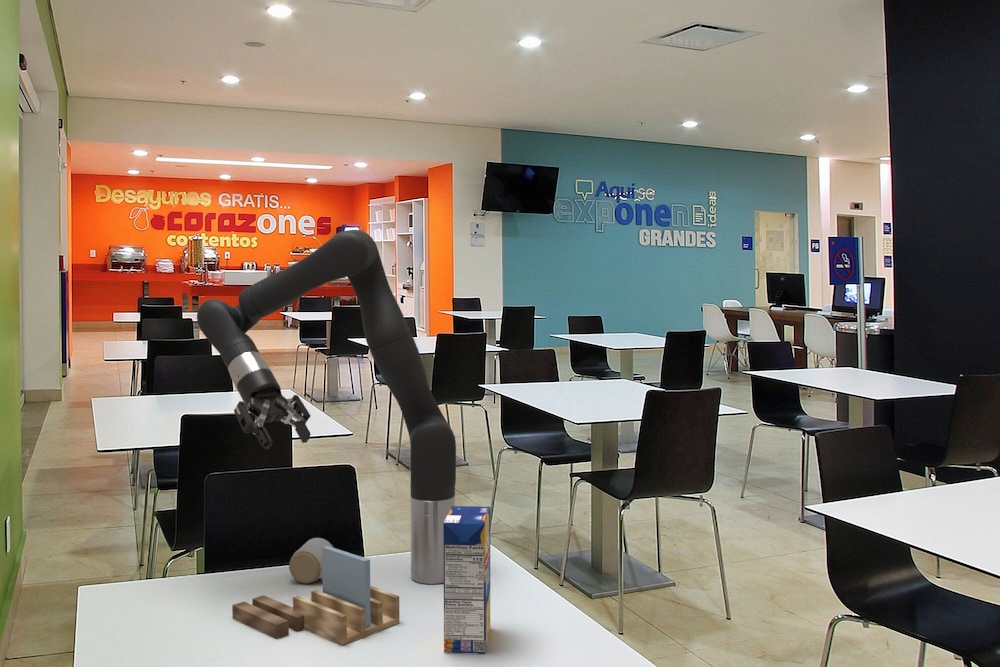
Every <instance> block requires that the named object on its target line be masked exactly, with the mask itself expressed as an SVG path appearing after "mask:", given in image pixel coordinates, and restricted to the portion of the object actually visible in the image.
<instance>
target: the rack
mask: <svg viewBox="0 0 1000 667" xmlns="http://www.w3.org/2000/svg"><path fill="white" fill-rule="evenodd" d="M310 596H311V597H310V598H311V599H307V598H305V597H302V596H299V595H296V596H293V597H292V607H293V611H295V612H297V613H300V614H302V615H304V629H303V630H305V631H308V632H310V633H312V634H315V635H317V636H319V637H321V638H324V639H326V640H329V641H330V642H333V643H335V644H338V645H340V646H342V647H343V646H345V645H348V644H350V643H354V642H356V641H359V640H361V639H363V638H365V637H368V636H370V634H371V635H373V634H375V632H376V633H377V631H378V632H381V631H383V630H385V629H384V628H386V627H388V628H390V627H389V626H391V625H393V626H395V625H394V624H396V625H398V624H400V595H397V594H394V593H392V592H389V591H386V590H384V589H380V588H378V587H375V586H372V585H370V614H371V627H368V628H365V608H362V607H360V606H357V605H354V604H352V603H349V602H346V601H344V600H341V599H339V598H336V597H333V596H331V595H328V594H326V593H323V591H320V590H317V589H314V590H311V591H310ZM397 623H398V624H397ZM391 627H392V626H391ZM382 629H383V630H382ZM386 629H387V628H386ZM380 630H381V631H380ZM372 633H373V634H372Z"/></svg>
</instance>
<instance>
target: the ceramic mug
mask: <svg viewBox="0 0 1000 667" xmlns="http://www.w3.org/2000/svg"><path fill="white" fill-rule="evenodd" d="M325 546H329V547H333V548H334V546H333V544H331V543H330V542H329V541H328V540H327V539H325V538H321V537H312V538H310V539H308V540H307V541H306V542H305V543H304V544H303V545H302V546H301V547H299V549H297V550H296V551H295V552H294V553H293V555H292V556H291V557H290V560H289V563H288V564H289V565H288V569H289V572H290V574H291V576H292V578H293V579H294V581H297V582H299V584H300V583H301V584H304V585H305V584H313V583H314V582H317V581H318V580H319V579H320V580H322V581H323V567H322V547H325Z"/></svg>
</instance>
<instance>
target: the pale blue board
mask: <svg viewBox="0 0 1000 667" xmlns="http://www.w3.org/2000/svg"><path fill="white" fill-rule="evenodd" d="M322 567H323V580H322V592H323V593H326V594H328V595H331V596H333V597H336V598H339V599H341V600H344V601H346V602H349V603H352V604H354V605H357V606H360V607H362V608H365V628H368V627H371V614H370V586H371V559H369V558H366V557H364V556H361V555H357V554H353V553H350V552H348V551H344V550H341V549H339V548H335V547H334V546H333V547H329V546H325V547H322Z"/></svg>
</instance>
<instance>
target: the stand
mask: <svg viewBox="0 0 1000 667" xmlns="http://www.w3.org/2000/svg"><path fill="white" fill-rule="evenodd" d="M251 600H252V601H251V602H252V604H251V603H248V602H246V601H240V602H239V603H233V604H232V605H231V606H232V610H231V611H232V619H233V620H235V621H237V622H239V623H242V624H244V625H246V626H248V627H250V628H252V629H254V630H256V631H259V632H260V633H261V632H262V633H263V634H266V635H268V636H269V637H272V638H274V639H276V640H278V639H281V638H284V637H287V636H289V634H290V632H289V629H290V630H293V631H295V632H300V631H304V630H305V629H304V615H302V614H300V613H297V612H295V611H293V606H290V605H288V604H286V603H284V602H281V601H279V600H277V599H276V600H275V599H274V598H271V597H268V596H267V595H260V596H257V597H254V598H252V599H251Z"/></svg>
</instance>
